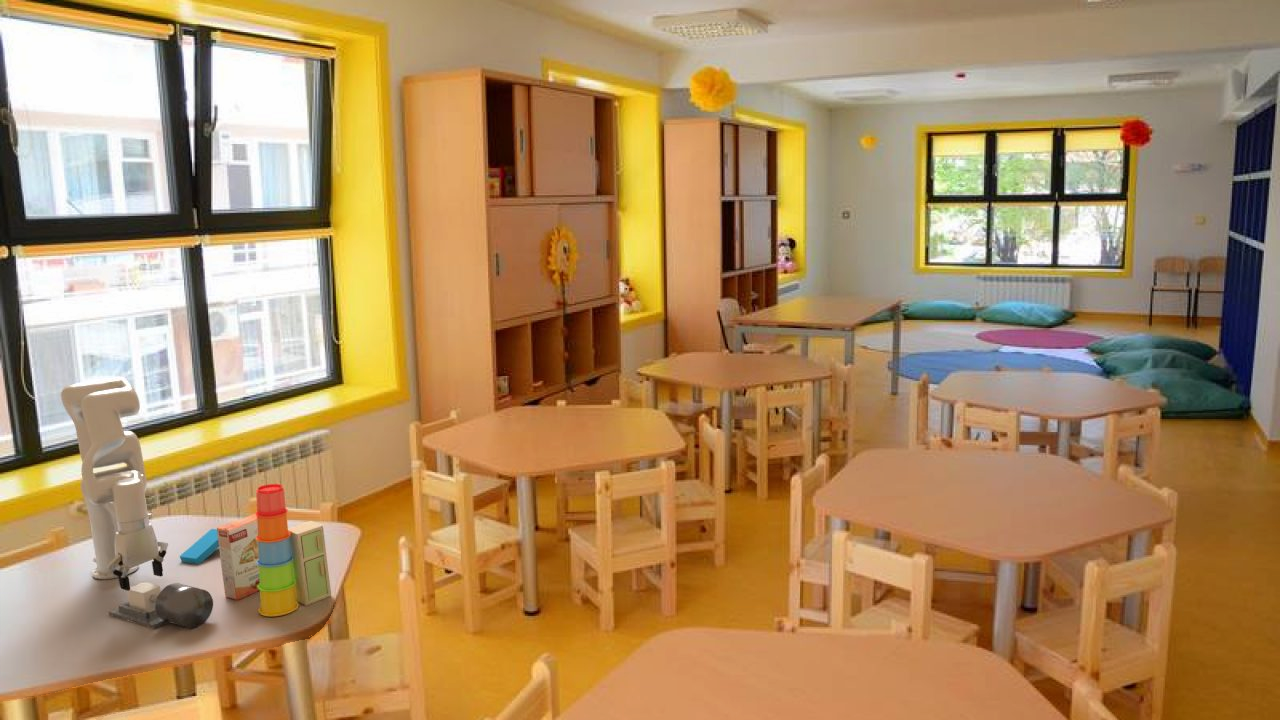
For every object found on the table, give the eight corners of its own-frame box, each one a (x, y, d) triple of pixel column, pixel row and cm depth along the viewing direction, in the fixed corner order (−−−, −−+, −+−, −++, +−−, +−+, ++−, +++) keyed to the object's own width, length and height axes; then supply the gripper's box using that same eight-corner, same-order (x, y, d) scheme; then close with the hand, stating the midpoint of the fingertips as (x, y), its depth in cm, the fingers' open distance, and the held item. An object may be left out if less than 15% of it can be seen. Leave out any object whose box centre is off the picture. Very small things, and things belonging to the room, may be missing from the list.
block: (130, 609, 266) (127, 589, 265) (147, 602, 270) (143, 581, 269) (151, 615, 261) (147, 594, 260) (167, 607, 266) (164, 587, 264)
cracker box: (238, 601, 270) (228, 530, 266) (224, 597, 273) (214, 527, 269) (280, 582, 281) (271, 514, 277) (266, 578, 285) (257, 511, 281)
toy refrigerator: (307, 607, 264) (298, 534, 260) (293, 600, 269) (284, 528, 265) (333, 596, 270) (324, 525, 266) (319, 590, 275) (311, 520, 271)
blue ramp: (203, 576, 301) (242, 541, 316) (196, 558, 298) (235, 523, 313) (187, 574, 303) (226, 539, 318) (179, 556, 300) (219, 521, 315)
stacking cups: (268, 601, 269) (252, 482, 262) (304, 600, 268) (289, 481, 262) (252, 618, 259) (236, 495, 252) (290, 617, 258) (274, 493, 251)
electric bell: (109, 615, 265) (103, 580, 263) (149, 597, 275) (144, 564, 273) (178, 636, 250) (173, 600, 249) (218, 616, 261) (213, 582, 259)
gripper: (154, 511, 271) (162, 567, 274) (94, 532, 256) (103, 592, 260) (171, 515, 267) (179, 572, 271) (111, 537, 252) (120, 598, 256)
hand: (142, 582), depth 265 cm, fingers open, 9 cm apart
